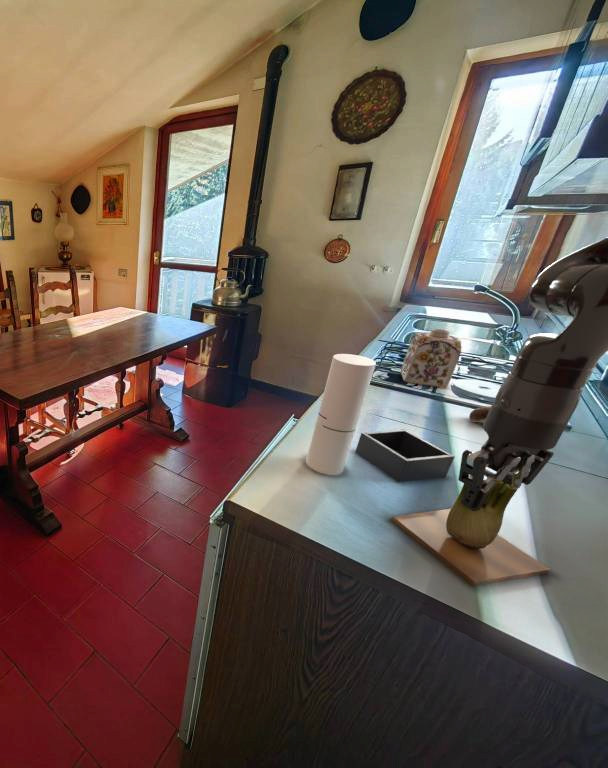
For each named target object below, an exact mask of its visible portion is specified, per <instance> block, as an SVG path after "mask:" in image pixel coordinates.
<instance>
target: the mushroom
mask: <svg viewBox="0 0 608 768" xmlns="http://www.w3.org/2000/svg"><path fill="white" fill-rule="evenodd" d="M491 406H492V405H485V406H481V407H477V408H475V409H472V411H471V412H470V413H469V416H468V417H469V420H470V422H473V423H481V424H484V422H485V420H486V417H487V415H488V413H489V411H490V408H491Z"/></svg>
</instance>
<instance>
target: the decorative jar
mask: <svg viewBox="0 0 608 768" xmlns="http://www.w3.org/2000/svg"><path fill="white" fill-rule="evenodd" d="M461 353H462V341H461V339H460V338H458V337H455V336H453V335H450V331H449V330H447V329H439V328H433V329H431V330H430V332H426V331H425V332H417V333H415V335H413V336H412V338H411V340H410V342H409V346H408V349H407V351H406V353H405V356H404V359H403V362H402V365H401V369H400V375H401V377H402V380H403V381H404V382H405V383H411V384H417V385H423V386H429V387H436V388H441V389H448V386H449V384H450V382H451V379H452V377H453V374H454V372H455V369H456V366H457V364H458V361H459V360H460V356H461ZM402 369H403V370H402ZM403 371H404V372H405V375H404V374H403Z"/></svg>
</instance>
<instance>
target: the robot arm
mask: <svg viewBox="0 0 608 768" xmlns="http://www.w3.org/2000/svg"><path fill="white" fill-rule="evenodd" d="M528 300H529V302H530V304H531V305H532V306H533V308H535V310H538V311H541V312H542V313H546V314H550V315H555V316H559V317H564V318H568V319H569V318H570V319H572V320H571V321H570V323H568V324H567V326H566V327H564V328H563V329H562V330H561V331H560V332H559V333H537V334H533V335H530V336H528V338H526V339H525V341H524V342H523V343H522V344H521V347H520V349H519V350H518V353H517V355H516V358H515V360H514V362H513V364H512V367H511V369H510V371H509V372H508V375H507V376H506V378H505V379H504V381H503V382H502V384H501V385H500V387H499V389H498V391H497V393H496V395H495V397H494V400H493V402H492V404H491V405H490V406H491V408H490V411H489V413H488V415H487V417H486V420H485V422H484V423H482V429H483V431H484V432H485V433H486V435H487V436H488V437H487V439H486V441H485V442H484V443H483V445H482V446H481V448H480V450H477V451H472V450H470V449H465V450H464V451H463V452H462V454H461V460H460V466H459V474H458V481H459V482H461V483H462V484H463V485H464V484H466V485H468V488H467V490H466V492H465V494H464V497H463V499H462V501H461V502H462V504H463V505H464V506H466V507H467V508H469V509H470V510H472V511H479V510H480V508H481V506H482V504H483V502H484V500H485V498H486V496H487V494H488V491H489V490H490V489H491V488H492V486H493V485H494V484H495V482H497V481H502V482H504V484H503V486H504V485H505V484H509V485H512V486H513V487H515V488H517V490H518V489H519V488H521V486H522V484H524V485H526V486H528V485H530V484H531V483H532V482H533V481H535V478H537V476H538V475H539V473H540V472H541V471H542V470H543V469H544V467H545V466H546V465H547V464H548V463H549V461H550V460H551V459H552V457H554V455H555V454H554V452H553V451H551V449H554V448H556V446H557V444H558V442H559V441H560V439H561V437H562V436H563V433H564V431H565V429H566V428H567V426H568V424H569V422H570V420H571V418H572V416H573V415H574V412H575V411H576V410H577V407H578V406H579V403H580V400H581V397H582V395H583V391H584V389H585V386H586V385H587V383H588V381H589V379H590V378H591V376H592V374H593V372H594V370H595V369H596V366H597V364H598V362H599V361H600V359H602V357H603V356H604V355H605V354H606V353H608V236H607V237H604V238H602V239H600V240H598V241H596V242H594V243H592V244H589V245H587V246H584V247H582V248H581V249H580V248H579V249H578V250H576V251H574V252H572V253H570V254H568V255H566V256H564V257H562V258H560V259H558V260H557V261H555V262H553V263H552V264H551V265H549V266H547V267H546V268H545V269H544V270H543V271H542V272H540V273H539V274H538V275H537V277H536V278H535V279H534V281H533V282H532V284H531V285H530V288H529V290H528ZM487 468H488V469H490V470H491V471H490V470H488V469H487ZM493 471H494V472H493ZM495 472H496V473H495ZM485 477H486V479H484V478H485ZM483 480H486V481H485V482H484V483H483ZM503 486H502V488H503ZM502 488H501V489H502ZM501 489H500V491H501ZM500 491H499V492H500Z"/></svg>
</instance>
